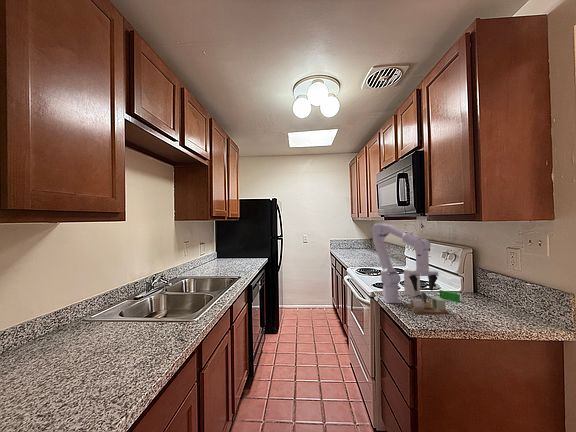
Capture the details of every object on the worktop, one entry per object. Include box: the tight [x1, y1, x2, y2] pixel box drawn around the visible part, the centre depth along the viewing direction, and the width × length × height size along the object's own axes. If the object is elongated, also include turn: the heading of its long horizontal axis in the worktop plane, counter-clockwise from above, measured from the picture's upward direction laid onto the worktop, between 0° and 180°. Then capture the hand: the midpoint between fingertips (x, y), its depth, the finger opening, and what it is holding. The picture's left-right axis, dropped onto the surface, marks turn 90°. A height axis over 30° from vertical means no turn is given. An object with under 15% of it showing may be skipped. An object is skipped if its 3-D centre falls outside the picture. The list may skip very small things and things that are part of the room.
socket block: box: [430, 296, 446, 310], centre depth 138 cm, size 7×4×5 cm, turn 178°
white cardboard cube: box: [410, 298, 424, 309], centre depth 138 cm, size 4×5×4 cm
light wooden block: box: [412, 291, 431, 307], centre depth 138 cm, size 3×8×7 cm, turn 88°
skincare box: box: [403, 267, 421, 298], centre depth 166 cm, size 8×7×16 cm
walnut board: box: [406, 303, 449, 315], centre depth 138 cm, size 12×15×1 cm
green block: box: [438, 289, 461, 304], centre depth 154 cm, size 11×4×5 cm, turn 26°
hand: (423, 290), depth 138 cm, fingers open, 7 cm apart
